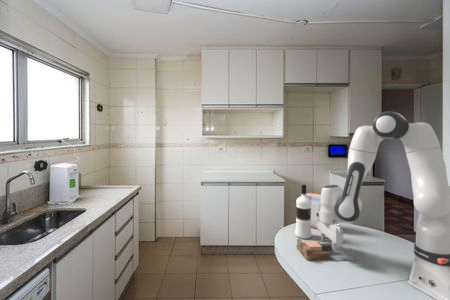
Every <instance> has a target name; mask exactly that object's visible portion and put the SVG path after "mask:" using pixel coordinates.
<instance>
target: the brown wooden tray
mask: <svg viewBox="0 0 450 300" xmlns="http://www.w3.org/2000/svg"><path fill="white" fill-rule="evenodd" d="M317 242H318V243H319V244H321V243H320V242H319V241H317ZM296 249H297V251H298V252H299V253H300V254H301V255H302V256H303V258H304V259H305V260H306V261H320V260H321V261H323V260H324V259H325V260H331V257H330V252H310V249H309V248H308V247H307V246H306V245H305V242H303V240H301V238H297V239H296Z"/></svg>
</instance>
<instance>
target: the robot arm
mask: <svg viewBox="0 0 450 300" xmlns="http://www.w3.org/2000/svg"><path fill="white" fill-rule="evenodd" d="M394 139H397V140H398V139H399V140H400V141H401V142H402V144H403V146H404V147H403V148H404V152H405V156H406V159H407V164H408V166H409V171H410V177H411V178H410V180H411V189H412V194H413V206H414V208H415V210H416V211H417V212H418V218H417V222H416V227H415V228H416V231H415V243H414V245H413V254H414V257H413V262H412V266H411V271H410V273H409V274H408V277H409V279H408V281H407V282H408V285H410V286H412V287H414V288H415V289H417V290H419V291H420V292H422V293H424V294H426V295H428V296H429V297H430V298H432V299H434V300H450V185H449V181H448V173H447V165H446V162H445V159H444V155H443V152H442V148H441V145H440V141H439V139H438V137H437V134H436V132H435V131H434V129H433V127H432V126H431V124H430V123H427V122H422V121H420V122H419V121H418V122H411V123H410V122H409V121H408V120H407V118H405V116H403V115H402V114H400V113H398V112H396V111H391V110H390V111H383V112H381V113H378V114H377V115H376V116H375V117H374V119H373V120H372V125H361V126H359V127H357V128H356V130H355V131H354V134H353V136H352V139H351V142H350V145H349V149H348V155H347V156H348V157H347V171H346V172H347V174H346V177H345V178H346V179H345V183H344V187H343V188H342V187H340V185H337V184H328V185H325V186H323V187H322V189H321V192H320V195H321V201H320V202H321V209H320V212H316V216H317V217H316V226H317V229H316V230H318V231H319V232H320V235H321V241H322V242H327V238H328V239H329V240H330V241H331V243H332V245H331V249H332V250H336V246H337V245H338V244H341V245H342V244H343V243H344V231H343V228H342V227H341V224H340V220H341V221H343V222H347V223H351V222H352V223H353V222H355V221H356V220H358V218H359V216H360V214H361V211H362V207H363V201H362V199H361V197H360V193H361V189H362V185H363V181H364V179H365V177H366V176H367V173H369V171H370V170H371V168H372V167H373V165H374V163H375V160H376V157H377V155H378V154H377V153H378V149H379V145H380V144H381V142H382V141H383V140H394Z"/></svg>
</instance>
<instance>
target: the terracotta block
mask: <svg viewBox="0 0 450 300" xmlns="http://www.w3.org/2000/svg"><path fill="white" fill-rule="evenodd" d="M318 242H319V241H315V240H313V241H304V243H305V245H306V246H307V247H308V248H309V249H310V252H327V251H334V250H332V249H331V245H332V244H333V243H332V242H328V243H327V242H326V243H320V242H319V243H320V244H319V243H318Z"/></svg>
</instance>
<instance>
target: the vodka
mask: <svg viewBox="0 0 450 300" xmlns="http://www.w3.org/2000/svg"><path fill="white" fill-rule="evenodd" d="M306 194H307V184H301V196H299V197H297V198H296V201H295V202H296V205H295V207H296V214H295V215H296V216H295V217H296V218H295V220H296V221H295V222H296V223H295V231H294V235H295V237H297V239H300V240H301V239H302V240H308V239H311V238H312V236H313V233H312V228H311V203H312V202H311V200H310V199H309V198H308V197H307V196H306Z"/></svg>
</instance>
